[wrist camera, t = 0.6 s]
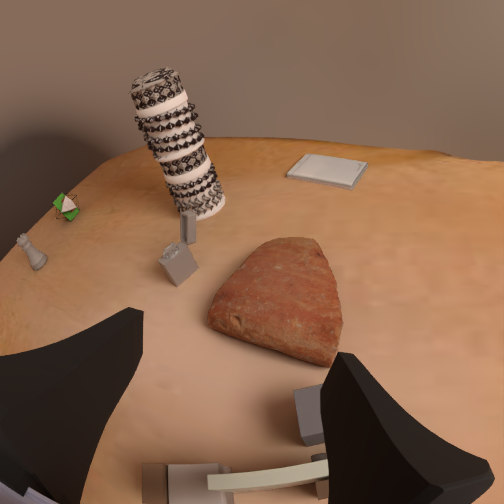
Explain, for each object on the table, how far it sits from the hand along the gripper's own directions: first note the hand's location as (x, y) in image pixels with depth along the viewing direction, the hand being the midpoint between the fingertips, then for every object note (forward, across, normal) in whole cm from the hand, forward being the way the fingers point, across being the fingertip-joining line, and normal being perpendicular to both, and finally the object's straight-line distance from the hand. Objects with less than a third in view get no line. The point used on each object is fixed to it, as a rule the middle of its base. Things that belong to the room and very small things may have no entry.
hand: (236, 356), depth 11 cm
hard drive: (+46, -11, -5) cm, 48 cm away
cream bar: (+4, -7, +17) cm, 19 cm away
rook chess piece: (+41, +44, +24) cm, 65 cm away
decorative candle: (+44, +10, +6) cm, 46 cm away
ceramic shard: (+23, -6, +9) cm, 25 cm away
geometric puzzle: (+55, +45, +17) cm, 73 cm away
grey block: (+9, -10, +14) cm, 19 cm away
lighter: (+31, +7, +11) cm, 33 cm away
